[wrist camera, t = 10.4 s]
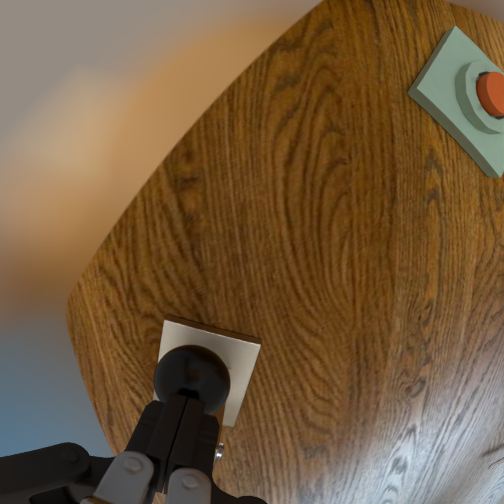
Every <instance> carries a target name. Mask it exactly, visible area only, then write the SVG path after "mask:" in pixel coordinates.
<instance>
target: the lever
mask: <svg viewBox="0 0 504 504" xmlns="http://www.w3.org/2000/svg"><path fill="white" fill-rule="evenodd" d="M153 382H154V389H155V393H156V395H157V397H158V399H159V401H161V402H164V403H166V400H167V398H168V395H169V393H170V392H173V393H176V394H180V395H183V396H187V401H188V398H189V397H191V398H194V399H198V400H202V401H206V404H205V409H204V414H208V415H212V414H214V413H216V412H217V411H218V410H219V409H220V408H221V407H222V406H223V405H224V403H225V402H226V400H227V398H228V396H229V392H230V387H231V380H230V374H229V371H228V368H227V366H226V365H225V363H224V361H223V360H222V359H221V358H220V357H219V356H218V355H217V354H216V353H215V352H213V351H212V350H210V349H208V348H206V347H203V346H199V345H182V346H179V347H176V348H174V349H172V350H170V351H169V352H167V353H166V354H165V355H164V356H163V357H162V358H161V359H160V361H159V362H158V364H157V366H156V369H155V372H154V379H153ZM186 404H187V403H186Z"/></svg>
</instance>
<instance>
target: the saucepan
mask: <svg viewBox="0 0 504 504" xmlns="http://www.w3.org/2000/svg"><path fill="white" fill-rule="evenodd" d="M503 462H504V457H503V458H502V459H500V460H498V461H496V462H494V463H493V464H491V465H490V466H489V469H492V468H494V467H496V466H497V465H499V464H501V463H503Z"/></svg>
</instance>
